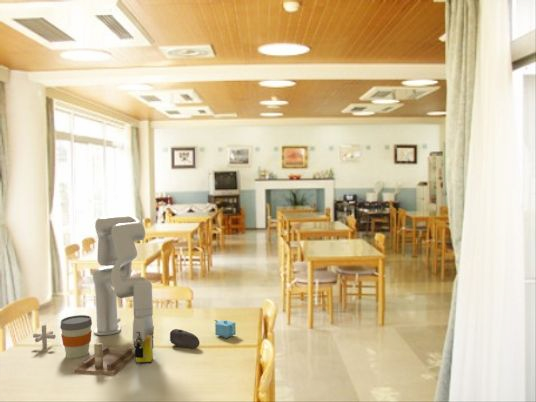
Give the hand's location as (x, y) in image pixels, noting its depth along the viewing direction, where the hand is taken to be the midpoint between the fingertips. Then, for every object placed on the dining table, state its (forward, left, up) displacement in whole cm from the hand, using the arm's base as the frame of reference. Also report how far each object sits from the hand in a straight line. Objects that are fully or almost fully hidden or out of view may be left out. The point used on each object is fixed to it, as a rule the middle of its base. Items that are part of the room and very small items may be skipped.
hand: (144, 352), depth 200 cm
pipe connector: (-8, -51, -4) cm, 52 cm away
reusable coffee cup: (-3, -32, -4) cm, 32 cm away
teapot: (-34, +24, -4) cm, 42 cm away
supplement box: (0, 0, -4) cm, 4 cm away
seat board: (+4, -14, -3) cm, 15 cm away
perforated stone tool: (-18, +11, -4) cm, 21 cm away
